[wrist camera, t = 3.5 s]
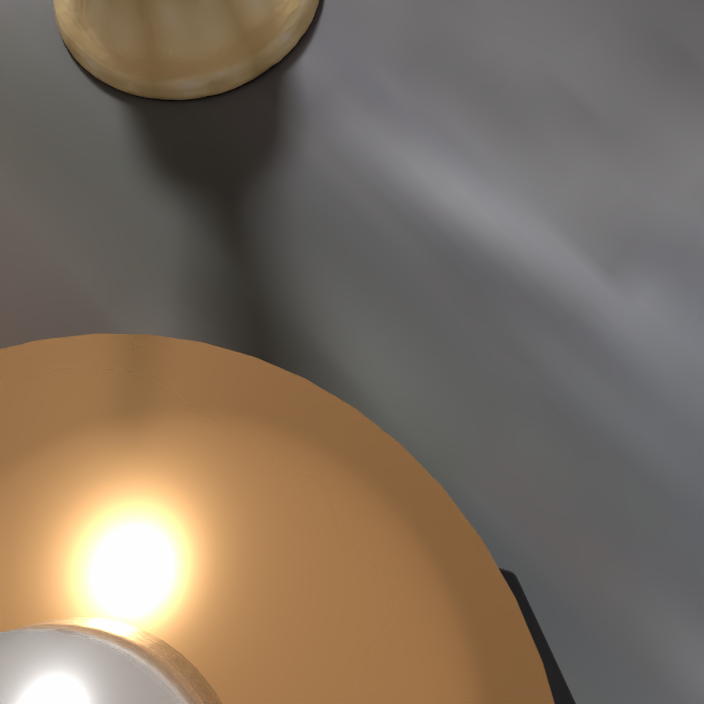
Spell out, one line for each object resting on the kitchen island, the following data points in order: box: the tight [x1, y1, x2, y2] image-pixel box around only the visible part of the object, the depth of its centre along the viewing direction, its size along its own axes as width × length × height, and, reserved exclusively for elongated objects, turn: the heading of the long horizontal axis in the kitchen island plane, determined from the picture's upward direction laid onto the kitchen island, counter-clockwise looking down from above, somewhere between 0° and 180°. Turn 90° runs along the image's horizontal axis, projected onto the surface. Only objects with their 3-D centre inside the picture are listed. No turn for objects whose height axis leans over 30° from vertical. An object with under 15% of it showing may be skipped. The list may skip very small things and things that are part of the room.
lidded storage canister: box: [0, 334, 555, 704], centre depth 9 cm, size 5×5×13 cm
